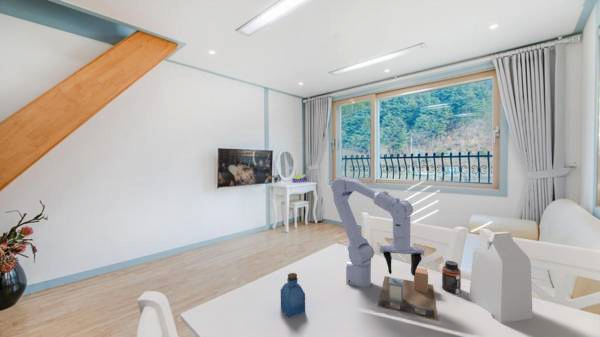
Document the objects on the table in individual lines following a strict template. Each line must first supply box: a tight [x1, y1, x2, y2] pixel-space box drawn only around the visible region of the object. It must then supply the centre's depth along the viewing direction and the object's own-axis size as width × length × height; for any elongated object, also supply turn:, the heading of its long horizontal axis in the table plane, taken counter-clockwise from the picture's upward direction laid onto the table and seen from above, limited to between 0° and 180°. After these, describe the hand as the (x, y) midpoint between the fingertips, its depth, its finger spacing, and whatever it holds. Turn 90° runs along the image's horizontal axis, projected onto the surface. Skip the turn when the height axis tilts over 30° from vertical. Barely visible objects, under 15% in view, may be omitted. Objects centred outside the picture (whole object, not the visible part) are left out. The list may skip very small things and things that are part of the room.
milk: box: [468, 231, 534, 324], centre depth 82 cm, size 12×12×26 cm
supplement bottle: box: [441, 260, 462, 295], centre depth 93 cm, size 6×6×11 cm
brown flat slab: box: [377, 275, 439, 321], centre depth 90 cm, size 18×23×3 cm
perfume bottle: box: [280, 272, 306, 318], centre depth 83 cm, size 6×6×12 cm
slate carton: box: [389, 276, 404, 302], centre depth 86 cm, size 5×4×7 cm
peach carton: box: [413, 267, 429, 293], centre depth 94 cm, size 5×4×7 cm
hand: (401, 273), depth 87 cm, fingers open, 7 cm apart
